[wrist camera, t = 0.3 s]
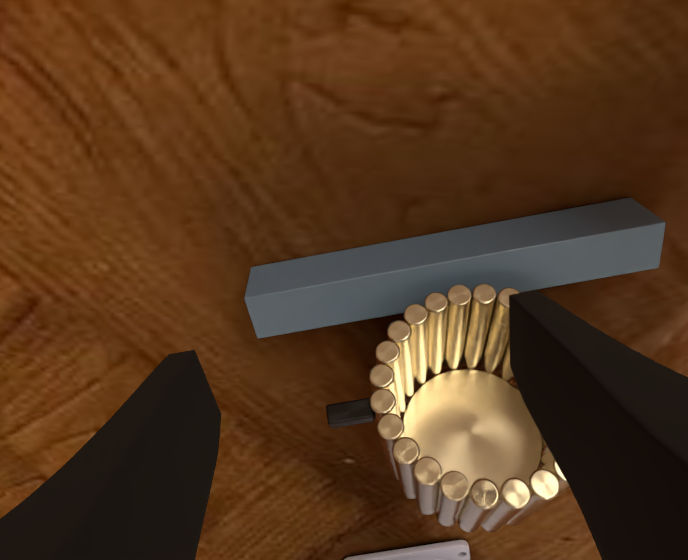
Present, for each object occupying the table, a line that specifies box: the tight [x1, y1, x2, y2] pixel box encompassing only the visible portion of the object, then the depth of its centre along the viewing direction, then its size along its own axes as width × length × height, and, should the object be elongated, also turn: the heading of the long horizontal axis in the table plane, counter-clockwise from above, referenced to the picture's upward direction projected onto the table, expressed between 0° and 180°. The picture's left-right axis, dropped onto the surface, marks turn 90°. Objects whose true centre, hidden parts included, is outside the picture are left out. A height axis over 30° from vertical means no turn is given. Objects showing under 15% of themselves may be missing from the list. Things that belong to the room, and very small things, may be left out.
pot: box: [326, 283, 639, 532], centre depth 20 cm, size 10×11×10 cm
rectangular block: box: [244, 198, 666, 339], centre depth 21 cm, size 2×16×2 cm, turn 100°
